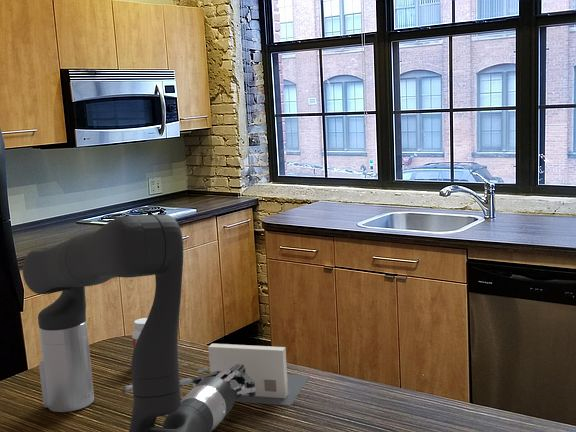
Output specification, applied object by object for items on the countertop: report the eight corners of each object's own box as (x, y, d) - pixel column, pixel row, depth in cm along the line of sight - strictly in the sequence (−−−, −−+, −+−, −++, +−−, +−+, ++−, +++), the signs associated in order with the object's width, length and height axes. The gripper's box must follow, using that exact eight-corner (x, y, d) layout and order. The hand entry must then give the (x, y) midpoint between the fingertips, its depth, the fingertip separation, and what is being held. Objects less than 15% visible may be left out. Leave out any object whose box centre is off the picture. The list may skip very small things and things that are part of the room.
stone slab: (208, 364, 155) (208, 378, 145) (208, 372, 155) (208, 386, 145) (128, 374, 153) (122, 389, 143) (129, 382, 153) (123, 397, 143)
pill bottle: (134, 372, 155) (129, 325, 153) (135, 362, 161) (131, 318, 159) (161, 368, 156) (157, 323, 154) (161, 359, 162) (157, 315, 160)
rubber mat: (197, 401, 137) (196, 398, 137) (224, 373, 151) (224, 370, 151) (290, 408, 131) (290, 405, 131) (310, 378, 146) (310, 375, 146)
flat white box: (211, 393, 139) (208, 346, 138) (215, 388, 141) (212, 343, 140) (285, 398, 135) (282, 350, 133) (288, 393, 137) (285, 346, 135)
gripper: (239, 388, 114) (271, 352, 131) (169, 383, 118) (208, 349, 135) (242, 429, 115) (273, 389, 132) (172, 423, 119) (211, 384, 136)
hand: (240, 369), depth 133 cm, fingers closed
